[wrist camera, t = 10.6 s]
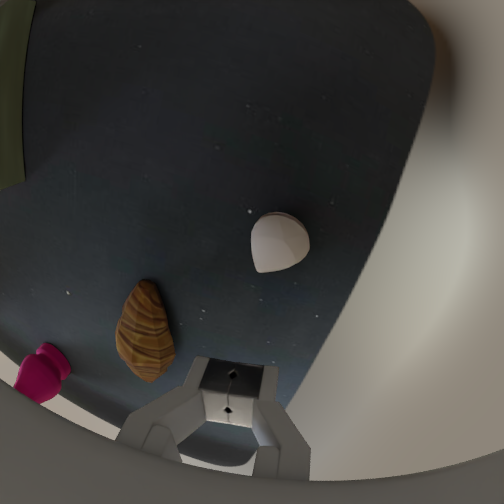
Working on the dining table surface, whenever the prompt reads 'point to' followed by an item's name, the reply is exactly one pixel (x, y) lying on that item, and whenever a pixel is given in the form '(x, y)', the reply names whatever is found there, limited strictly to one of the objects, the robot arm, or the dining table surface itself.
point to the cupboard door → (12, 86)
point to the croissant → (145, 333)
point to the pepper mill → (42, 373)
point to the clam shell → (278, 242)
